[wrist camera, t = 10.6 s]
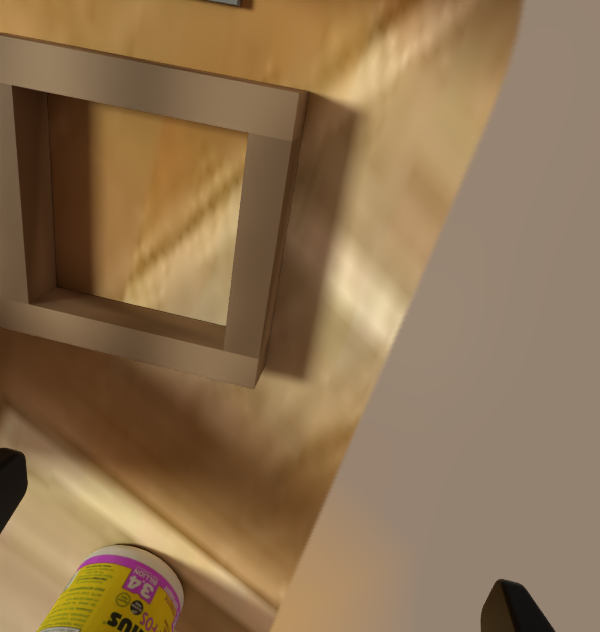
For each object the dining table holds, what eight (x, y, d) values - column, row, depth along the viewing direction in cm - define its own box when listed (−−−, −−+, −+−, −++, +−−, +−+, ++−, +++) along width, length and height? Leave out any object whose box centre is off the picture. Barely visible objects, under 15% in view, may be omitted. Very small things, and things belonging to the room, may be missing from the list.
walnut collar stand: (28, 308, 24) (-1, 327, 23) (7, 33, 19) (-34, 29, 17) (265, 365, 23) (254, 389, 22) (309, 91, 18) (299, 93, 16)
